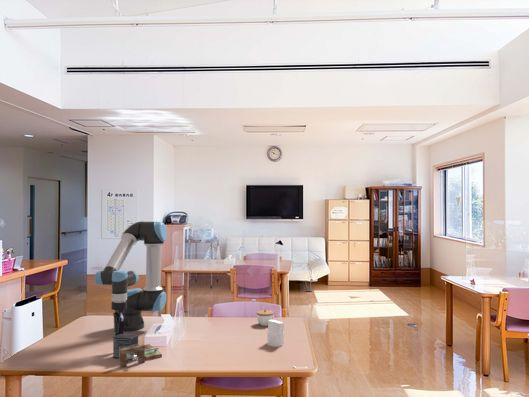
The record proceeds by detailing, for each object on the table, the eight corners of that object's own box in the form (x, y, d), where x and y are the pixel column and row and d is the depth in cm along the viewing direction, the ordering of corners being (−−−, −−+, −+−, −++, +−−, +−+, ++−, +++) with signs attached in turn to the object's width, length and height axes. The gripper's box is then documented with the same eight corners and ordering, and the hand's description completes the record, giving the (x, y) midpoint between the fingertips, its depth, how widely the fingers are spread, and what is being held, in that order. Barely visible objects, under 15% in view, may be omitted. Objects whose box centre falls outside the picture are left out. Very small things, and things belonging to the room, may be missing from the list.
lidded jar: (273, 327, 258) (273, 311, 258) (256, 326, 258) (256, 311, 258) (273, 322, 269) (273, 307, 269) (256, 322, 269) (256, 307, 269)
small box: (139, 355, 209) (139, 334, 209) (132, 360, 203) (132, 338, 203) (120, 353, 212) (120, 332, 212) (112, 358, 205) (112, 337, 205)
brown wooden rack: (157, 351, 210) (157, 339, 211) (165, 358, 202) (165, 345, 202) (119, 359, 200) (119, 347, 200) (125, 366, 191) (125, 353, 191)
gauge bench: (149, 346, 222) (149, 331, 222) (163, 358, 205) (163, 342, 205) (109, 354, 210) (109, 338, 210) (121, 367, 194) (121, 350, 194)
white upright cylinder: (287, 343, 227) (287, 321, 227) (276, 347, 221) (276, 324, 221) (275, 339, 233) (275, 318, 234) (264, 343, 227) (264, 321, 227)
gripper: (108, 299, 218) (107, 345, 218) (115, 304, 207) (114, 352, 207) (123, 297, 222) (122, 342, 222) (130, 302, 212) (129, 349, 211)
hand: (118, 347), depth 214 cm, fingers closed
